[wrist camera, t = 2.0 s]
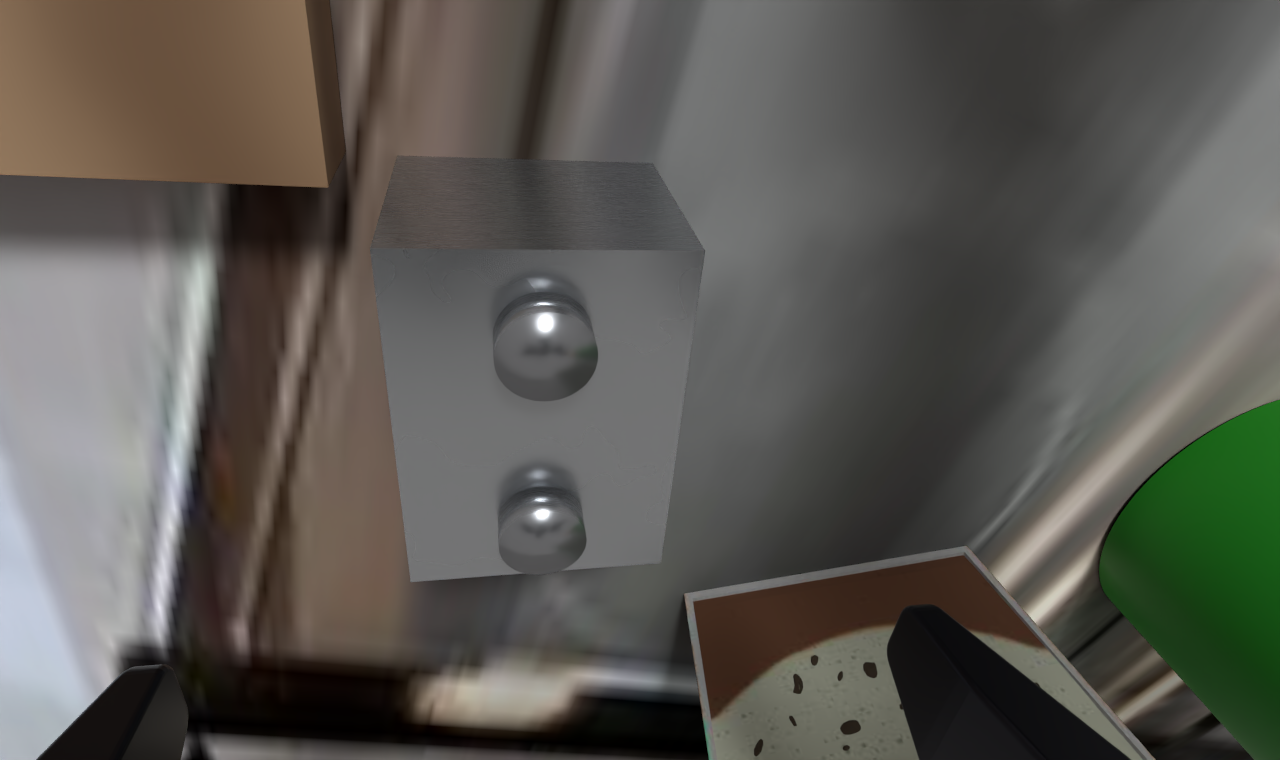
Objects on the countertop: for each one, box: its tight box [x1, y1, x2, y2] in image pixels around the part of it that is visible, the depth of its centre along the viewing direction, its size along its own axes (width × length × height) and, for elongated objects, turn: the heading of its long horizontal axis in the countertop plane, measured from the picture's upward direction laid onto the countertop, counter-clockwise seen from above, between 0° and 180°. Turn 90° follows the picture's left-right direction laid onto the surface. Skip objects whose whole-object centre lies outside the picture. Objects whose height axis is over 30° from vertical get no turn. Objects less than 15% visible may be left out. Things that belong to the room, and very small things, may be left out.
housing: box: [370, 156, 705, 582], centre depth 15 cm, size 5×7×5 cm
